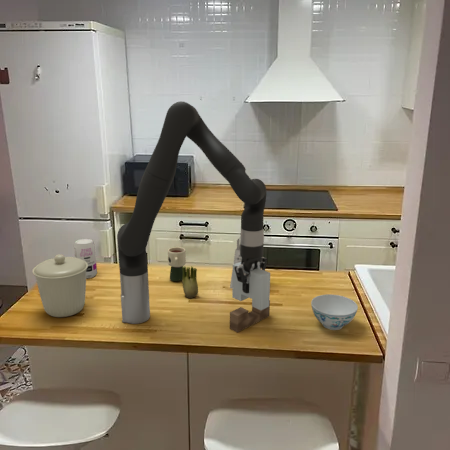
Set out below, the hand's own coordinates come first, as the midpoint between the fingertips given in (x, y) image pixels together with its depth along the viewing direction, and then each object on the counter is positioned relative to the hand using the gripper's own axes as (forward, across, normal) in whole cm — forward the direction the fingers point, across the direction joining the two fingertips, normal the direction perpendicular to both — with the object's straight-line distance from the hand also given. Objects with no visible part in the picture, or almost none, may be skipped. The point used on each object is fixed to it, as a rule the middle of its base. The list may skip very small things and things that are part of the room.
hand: (250, 290), depth 155 cm
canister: (+12, -41, +51) cm, 67 cm away
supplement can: (+12, -20, +74) cm, 77 cm away
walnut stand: (+12, 0, 0) cm, 12 cm away
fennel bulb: (+12, -2, +29) cm, 31 cm away
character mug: (+12, +4, +44) cm, 46 cm away
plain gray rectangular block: (+4, 0, 0) cm, 4 cm away
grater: (+12, +21, +22) cm, 33 cm away
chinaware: (+12, +18, -21) cm, 30 cm away
